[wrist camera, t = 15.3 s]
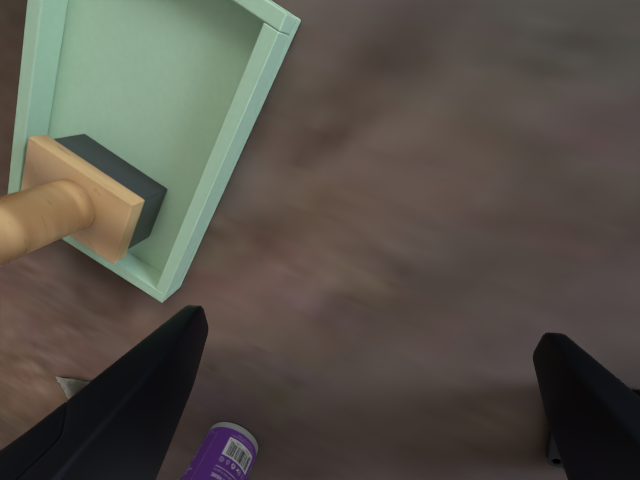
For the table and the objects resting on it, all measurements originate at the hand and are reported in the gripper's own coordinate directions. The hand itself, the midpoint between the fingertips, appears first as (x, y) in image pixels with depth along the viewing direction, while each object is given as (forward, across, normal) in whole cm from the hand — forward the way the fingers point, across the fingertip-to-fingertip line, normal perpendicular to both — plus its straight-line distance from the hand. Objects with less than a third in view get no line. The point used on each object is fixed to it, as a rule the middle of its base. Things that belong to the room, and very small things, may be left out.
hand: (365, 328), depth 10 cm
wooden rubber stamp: (+12, +15, +3) cm, 20 cm away
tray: (+14, +13, -1) cm, 19 cm away
